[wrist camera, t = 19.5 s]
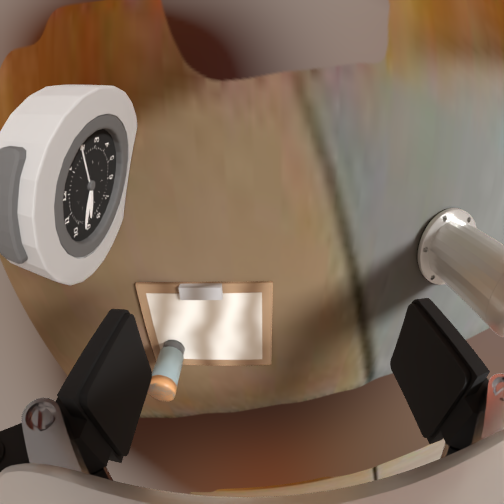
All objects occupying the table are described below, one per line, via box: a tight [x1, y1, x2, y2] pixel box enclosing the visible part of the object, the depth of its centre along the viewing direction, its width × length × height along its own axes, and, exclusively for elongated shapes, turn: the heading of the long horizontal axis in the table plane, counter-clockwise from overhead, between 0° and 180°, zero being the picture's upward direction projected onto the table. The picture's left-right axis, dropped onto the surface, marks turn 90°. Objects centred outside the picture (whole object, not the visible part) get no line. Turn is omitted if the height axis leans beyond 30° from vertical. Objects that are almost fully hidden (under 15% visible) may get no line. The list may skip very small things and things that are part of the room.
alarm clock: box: [0, 85, 137, 285], centre depth 24 cm, size 21×8×20 cm, turn 165°
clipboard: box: [135, 281, 273, 366], centre depth 42 cm, size 20×16×2 cm
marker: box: [148, 340, 185, 401], centre depth 39 cm, size 4×4×10 cm
